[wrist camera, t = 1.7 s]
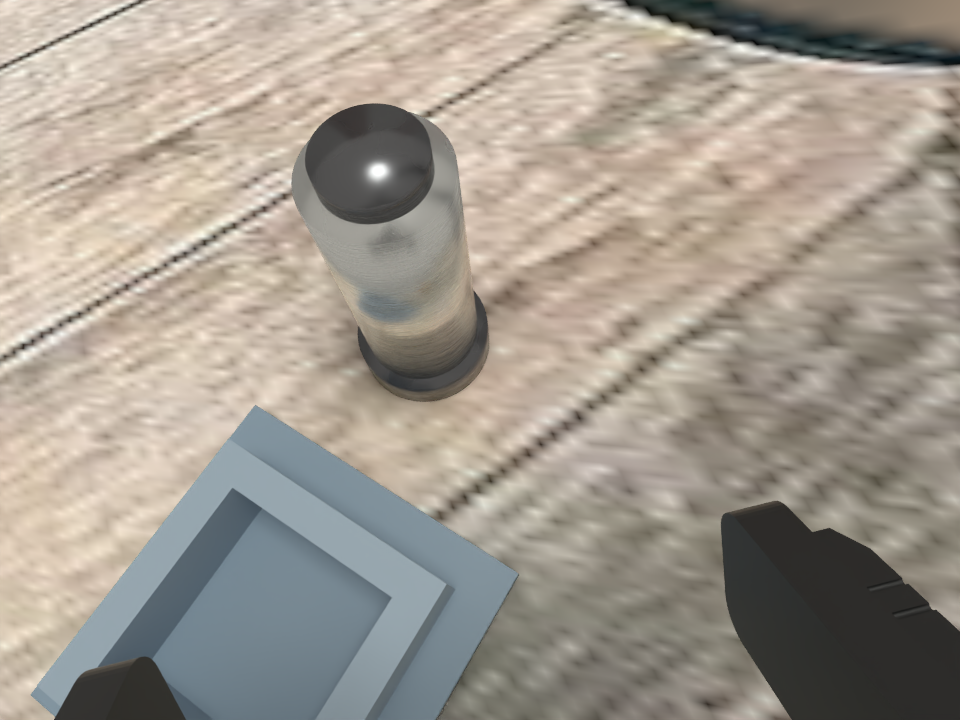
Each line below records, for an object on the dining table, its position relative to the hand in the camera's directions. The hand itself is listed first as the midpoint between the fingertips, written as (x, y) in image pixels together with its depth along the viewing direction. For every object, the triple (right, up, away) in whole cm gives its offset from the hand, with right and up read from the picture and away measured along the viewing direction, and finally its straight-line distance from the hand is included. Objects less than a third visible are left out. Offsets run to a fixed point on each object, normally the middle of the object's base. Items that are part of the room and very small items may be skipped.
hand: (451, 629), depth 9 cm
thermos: (-2, +5, +18) cm, 19 cm away
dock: (-6, -6, +14) cm, 17 cm away
